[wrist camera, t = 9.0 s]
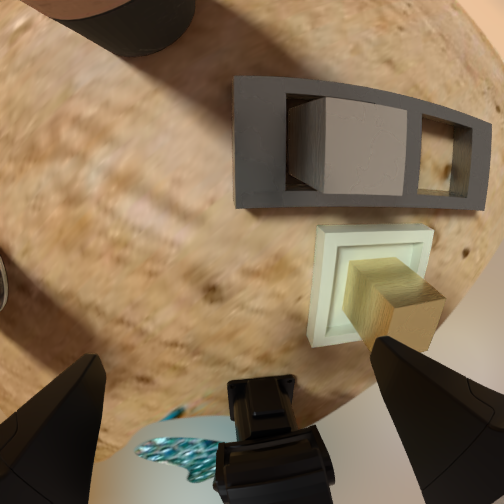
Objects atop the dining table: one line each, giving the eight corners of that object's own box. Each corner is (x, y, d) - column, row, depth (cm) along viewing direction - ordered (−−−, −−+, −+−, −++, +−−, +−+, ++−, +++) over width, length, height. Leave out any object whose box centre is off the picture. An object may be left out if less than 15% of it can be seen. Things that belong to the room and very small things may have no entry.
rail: (467, 203, 22) (484, 210, 20) (233, 200, 20) (235, 208, 18) (473, 122, 19) (491, 124, 17) (231, 82, 17) (233, 75, 14)
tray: (399, 320, 26) (408, 330, 24) (306, 335, 25) (312, 347, 23) (421, 223, 22) (434, 230, 21) (316, 225, 21) (325, 233, 20)
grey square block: (347, 175, 20) (402, 195, 14) (287, 173, 20) (323, 193, 13) (349, 114, 18) (406, 110, 12) (288, 108, 18) (325, 97, 11)
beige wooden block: (395, 256, 23) (446, 298, 16) (386, 302, 24) (427, 350, 18) (349, 260, 22) (394, 308, 16) (341, 309, 24) (377, 363, 17)
